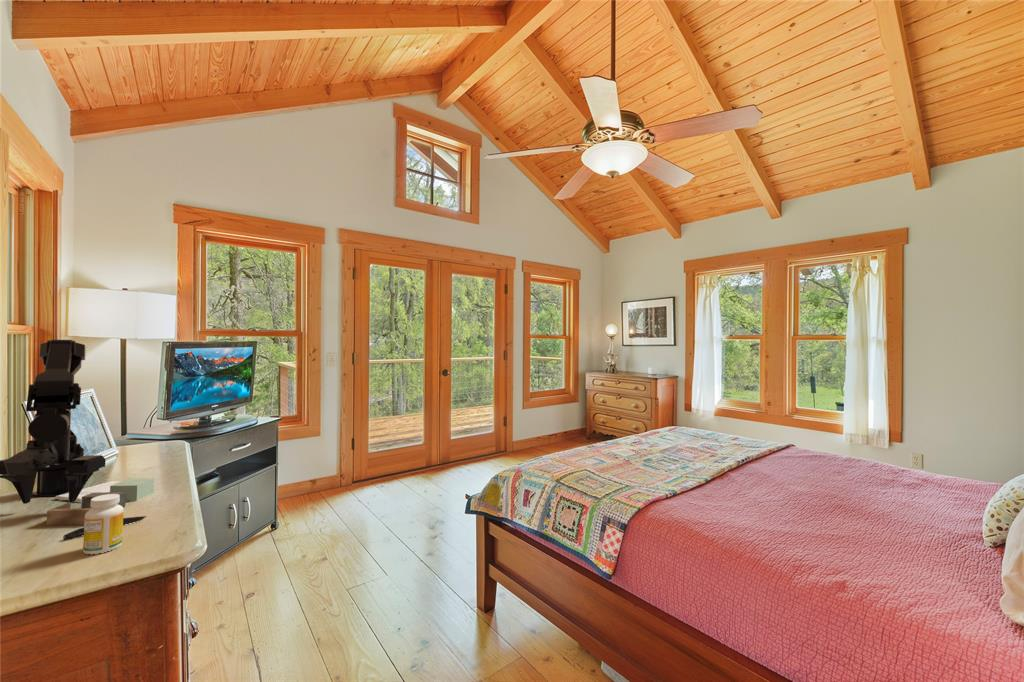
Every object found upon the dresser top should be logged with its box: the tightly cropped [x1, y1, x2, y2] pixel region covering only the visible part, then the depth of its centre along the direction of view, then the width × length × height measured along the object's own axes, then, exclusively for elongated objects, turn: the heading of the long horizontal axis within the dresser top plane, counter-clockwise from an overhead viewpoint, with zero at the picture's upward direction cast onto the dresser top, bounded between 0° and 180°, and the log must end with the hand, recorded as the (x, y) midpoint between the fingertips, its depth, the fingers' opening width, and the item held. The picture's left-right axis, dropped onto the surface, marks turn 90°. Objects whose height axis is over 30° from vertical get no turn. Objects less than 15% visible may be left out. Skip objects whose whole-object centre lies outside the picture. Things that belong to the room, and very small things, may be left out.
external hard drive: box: [54, 480, 120, 503], centre depth 112 cm, size 2×8×12 cm
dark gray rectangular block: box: [80, 492, 127, 509], centre depth 100 cm, size 7×3×4 cm, turn 98°
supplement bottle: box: [82, 494, 125, 556], centre depth 82 cm, size 5×5×10 cm
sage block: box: [110, 477, 155, 502], centre depth 109 cm, size 6×6×4 cm
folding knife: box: [62, 515, 148, 542], centre depth 90 cm, size 13×1×2 cm, turn 147°
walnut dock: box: [46, 502, 92, 526], centre depth 94 cm, size 10×5×3 cm, turn 98°
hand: (49, 502), depth 99 cm, fingers open, 9 cm apart
